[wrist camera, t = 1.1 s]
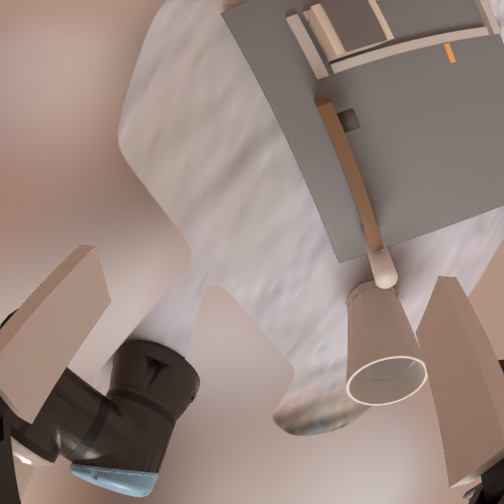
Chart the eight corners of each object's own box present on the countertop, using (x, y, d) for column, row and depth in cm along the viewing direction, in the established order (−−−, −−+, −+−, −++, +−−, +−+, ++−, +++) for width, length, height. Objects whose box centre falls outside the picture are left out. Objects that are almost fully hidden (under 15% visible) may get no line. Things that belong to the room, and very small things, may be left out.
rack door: (360, 218, 28) (371, 252, 23) (314, 101, 23) (317, 106, 18) (384, 210, 27) (400, 242, 22) (340, 91, 23) (351, 94, 18)
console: (337, 252, 33) (345, 317, 24) (226, 17, 22) (188, -9, 14) (523, 187, 25) (574, 228, 16) (451, -43, 14) (499, -73, 5)
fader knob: (328, 61, 21) (337, 55, 15) (308, 24, 20) (311, 4, 14) (371, 47, 20) (396, 37, 14) (353, 10, 19) (370, -13, 12)
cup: (397, 265, 32) (426, 345, 22) (408, 314, 36) (429, 392, 26) (331, 286, 35) (336, 370, 25) (349, 332, 38) (355, 412, 28)
